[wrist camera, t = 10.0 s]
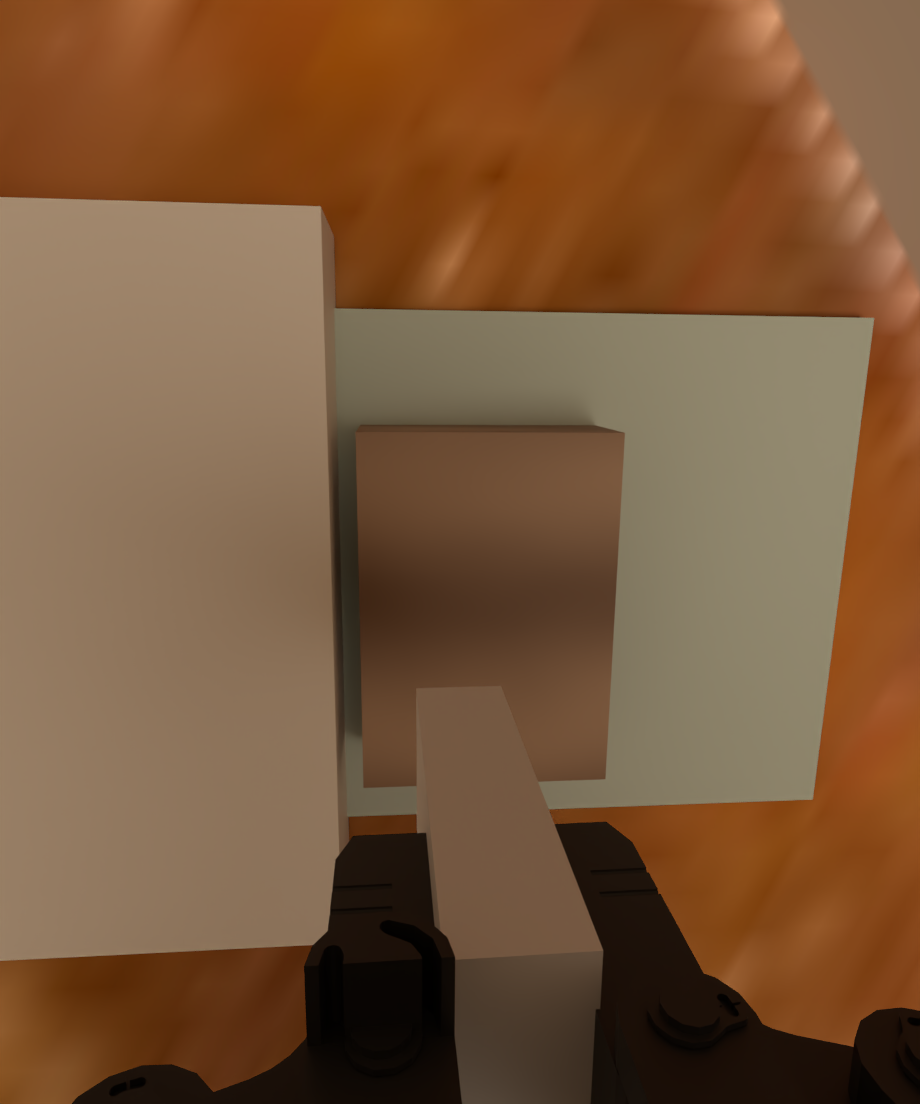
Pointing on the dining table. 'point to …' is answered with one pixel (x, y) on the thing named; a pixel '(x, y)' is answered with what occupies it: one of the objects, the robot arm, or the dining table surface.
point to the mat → (654, 520)
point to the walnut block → (489, 584)
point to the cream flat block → (168, 578)
